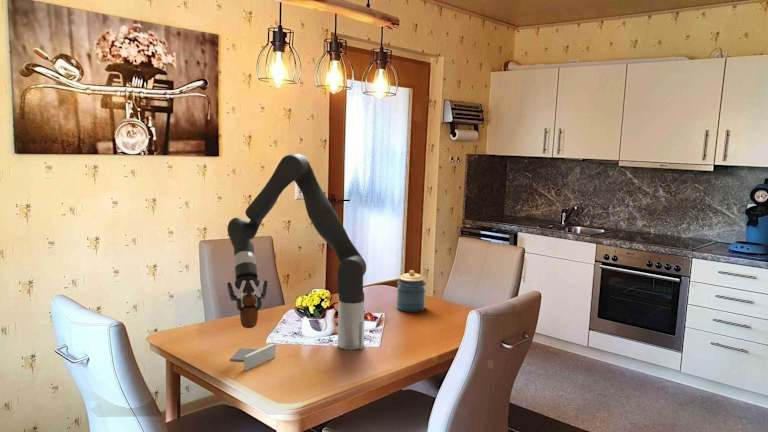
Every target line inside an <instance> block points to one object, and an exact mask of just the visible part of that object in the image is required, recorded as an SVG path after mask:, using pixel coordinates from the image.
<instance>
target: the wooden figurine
mask: <svg viewBox="0 0 768 432" xmlns="http://www.w3.org/2000/svg"><path fill="white" fill-rule="evenodd" d="M256 300H257V299H256V297H255V295H253V293H251V291H250V286H249V284H248V286H247V293H246V294H244V295H242V298H241V303H242V311H239V312H240V314H239V315H240V316H239V320H240V324H241V326H242V327H243V328H244V329H252V328H255V327H256V326H257V323H258V318H259V310H257V303H256Z"/></svg>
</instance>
